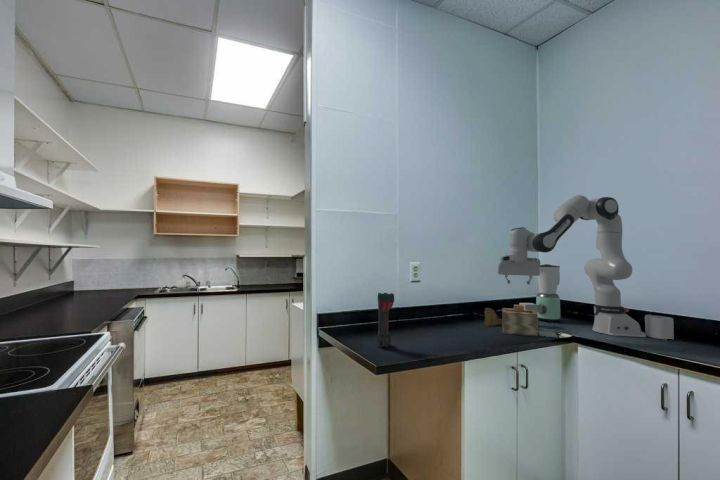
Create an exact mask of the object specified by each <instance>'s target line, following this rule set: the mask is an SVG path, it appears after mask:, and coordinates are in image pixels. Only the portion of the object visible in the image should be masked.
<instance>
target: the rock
mask: <svg viewBox="0 0 720 480" xmlns="http://www.w3.org/2000/svg"><path fill="white" fill-rule="evenodd" d="M497 325H501V321H500V317H499V316H498V314H497V313H496V311H495V310H494V309H492V308H491V307H485V308H484V326H486V327H492V326H493V327H494V326H497Z"/></svg>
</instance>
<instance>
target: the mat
mask: <svg viewBox="0 0 720 480" xmlns="http://www.w3.org/2000/svg"><path fill="white" fill-rule="evenodd" d="M544 336H545V337H544ZM538 337H544V338H554V339H556V338H557V339H558V338H559V337H558V335H557V333H556V332H555V331H543V330H538Z"/></svg>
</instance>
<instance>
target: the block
mask: <svg viewBox="0 0 720 480" xmlns="http://www.w3.org/2000/svg"><path fill="white" fill-rule="evenodd" d="M513 309H514V312H524V306H523V305H519V304H513Z"/></svg>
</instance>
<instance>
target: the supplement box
mask: <svg viewBox="0 0 720 480" xmlns="http://www.w3.org/2000/svg"><path fill="white" fill-rule="evenodd" d="M518 305H523V306H524V310H535V312H536V313H537V321H538V322H539V320H538V305H537V304H536V303H533V302H519V304H518Z"/></svg>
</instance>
